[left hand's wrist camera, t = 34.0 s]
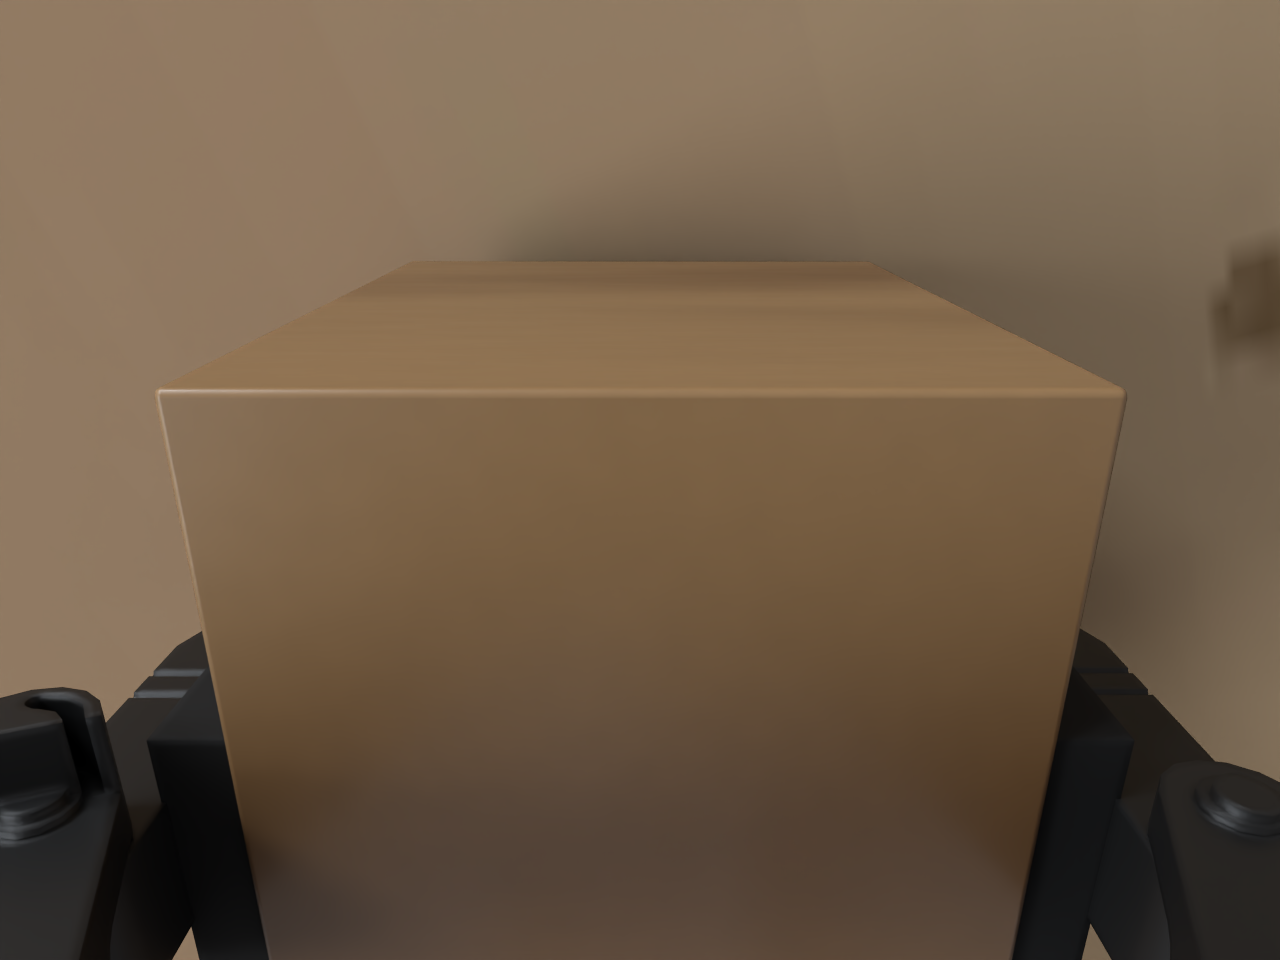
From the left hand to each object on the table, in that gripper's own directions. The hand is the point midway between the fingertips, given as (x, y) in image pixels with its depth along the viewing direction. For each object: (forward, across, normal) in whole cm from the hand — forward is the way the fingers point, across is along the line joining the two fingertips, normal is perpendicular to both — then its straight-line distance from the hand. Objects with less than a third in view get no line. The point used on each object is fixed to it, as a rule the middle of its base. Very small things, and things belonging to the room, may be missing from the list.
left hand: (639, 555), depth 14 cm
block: (+1, 0, 0) cm, 1 cm away
